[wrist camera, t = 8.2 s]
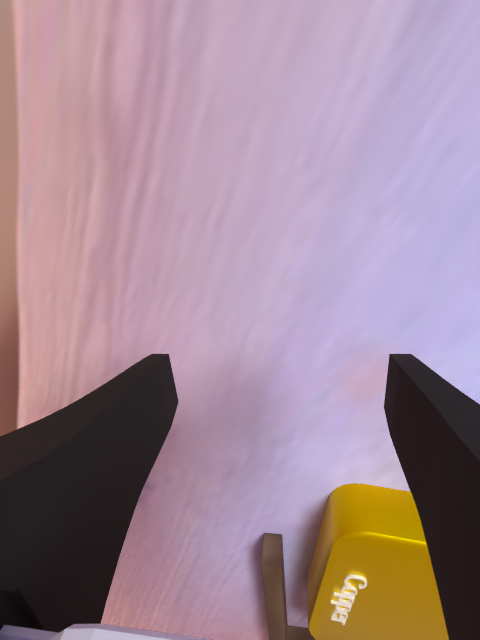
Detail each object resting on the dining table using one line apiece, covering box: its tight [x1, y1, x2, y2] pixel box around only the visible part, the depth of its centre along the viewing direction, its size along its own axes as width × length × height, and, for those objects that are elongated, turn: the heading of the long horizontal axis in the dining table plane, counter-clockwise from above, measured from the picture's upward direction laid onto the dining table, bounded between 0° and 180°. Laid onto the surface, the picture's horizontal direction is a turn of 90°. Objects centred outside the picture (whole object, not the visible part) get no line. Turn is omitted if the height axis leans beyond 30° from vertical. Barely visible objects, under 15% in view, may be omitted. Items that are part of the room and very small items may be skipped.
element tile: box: [307, 484, 449, 640], centre depth 27 cm, size 15×15×5 cm
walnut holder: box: [262, 533, 316, 640], centre depth 31 cm, size 21×16×2 cm
